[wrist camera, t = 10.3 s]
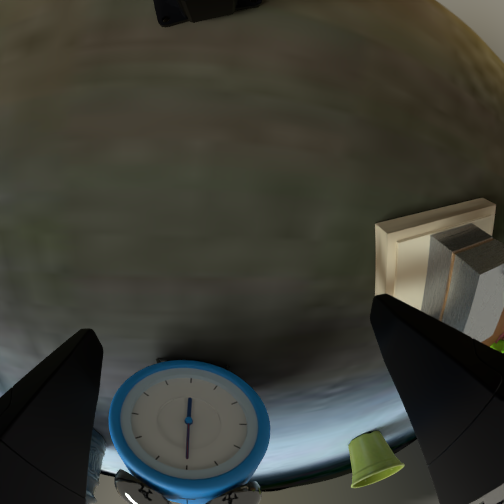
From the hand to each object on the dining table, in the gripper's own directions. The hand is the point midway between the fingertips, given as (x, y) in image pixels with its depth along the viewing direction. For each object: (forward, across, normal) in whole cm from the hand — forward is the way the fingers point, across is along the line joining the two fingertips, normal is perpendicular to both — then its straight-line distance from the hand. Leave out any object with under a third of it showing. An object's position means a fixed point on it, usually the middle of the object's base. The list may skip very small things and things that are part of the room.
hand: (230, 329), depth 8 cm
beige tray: (+12, -18, +7) cm, 23 cm away
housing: (+10, -18, +7) cm, 21 cm away
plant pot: (+12, -18, +43) cm, 48 cm away
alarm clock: (+12, +6, +17) cm, 22 cm away
